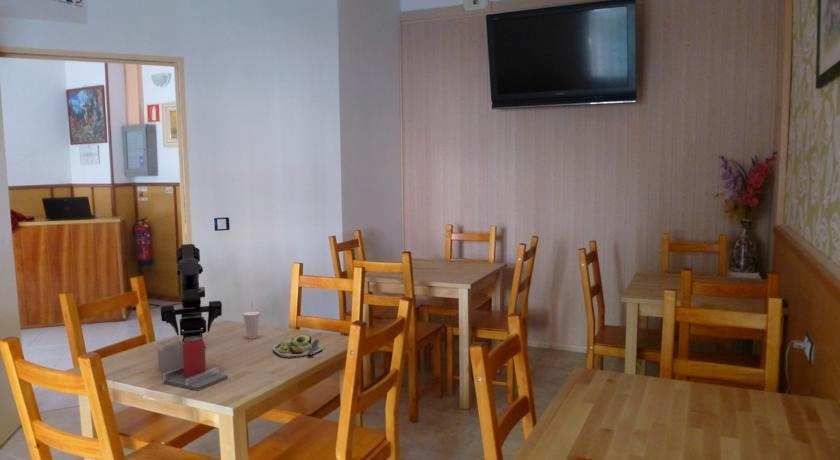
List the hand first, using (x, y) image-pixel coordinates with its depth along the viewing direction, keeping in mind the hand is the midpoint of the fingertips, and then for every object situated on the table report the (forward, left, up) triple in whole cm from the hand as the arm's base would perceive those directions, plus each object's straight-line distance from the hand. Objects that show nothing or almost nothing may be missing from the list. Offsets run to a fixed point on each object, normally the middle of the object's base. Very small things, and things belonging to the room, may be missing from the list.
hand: (193, 333), depth 198 cm
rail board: (+5, +5, -14) cm, 15 cm away
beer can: (+3, +3, -13) cm, 14 cm away
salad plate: (-35, +13, -14) cm, 40 cm away
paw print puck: (-2, -10, -14) cm, 17 cm away
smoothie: (-41, -15, -14) cm, 46 cm away
